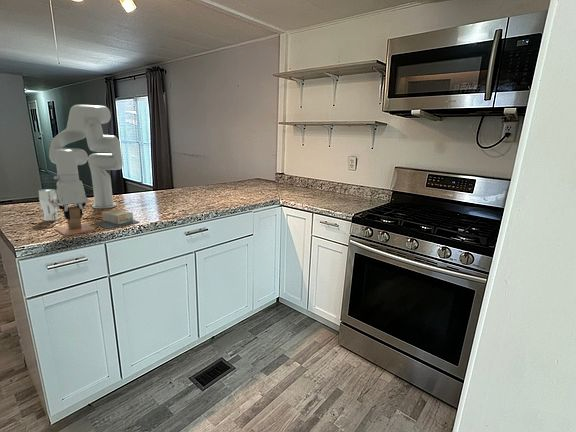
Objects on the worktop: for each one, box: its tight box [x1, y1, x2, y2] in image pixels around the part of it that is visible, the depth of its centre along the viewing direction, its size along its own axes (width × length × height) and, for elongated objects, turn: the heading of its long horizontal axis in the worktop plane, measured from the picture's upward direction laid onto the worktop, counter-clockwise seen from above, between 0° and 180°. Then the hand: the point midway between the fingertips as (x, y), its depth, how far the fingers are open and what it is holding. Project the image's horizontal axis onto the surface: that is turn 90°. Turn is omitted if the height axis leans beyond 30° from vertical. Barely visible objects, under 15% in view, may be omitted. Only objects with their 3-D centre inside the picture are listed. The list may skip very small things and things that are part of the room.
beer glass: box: [38, 188, 60, 222], centre depth 155 cm, size 7×7×15 cm
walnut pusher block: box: [67, 204, 82, 230], centre depth 140 cm, size 4×4×10 cm
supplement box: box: [101, 208, 134, 224], centre depth 156 cm, size 8×5×13 cm
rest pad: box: [55, 223, 96, 237], centre depth 142 cm, size 12×12×1 cm
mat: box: [94, 219, 140, 230], centre depth 155 cm, size 13×16×1 cm
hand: (74, 218), depth 140 cm, fingers closed on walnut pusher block, 4 cm apart
